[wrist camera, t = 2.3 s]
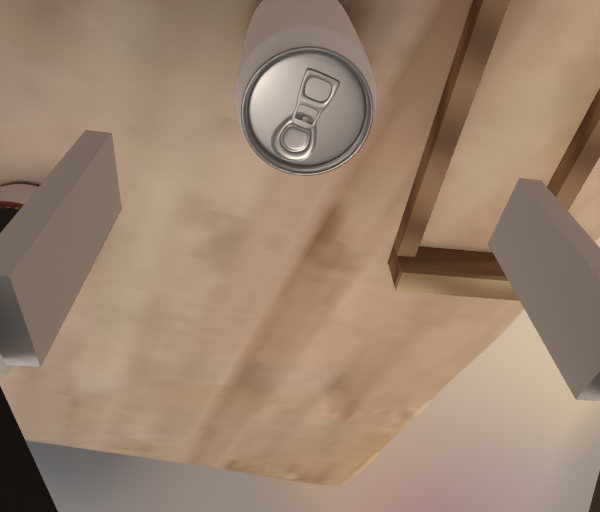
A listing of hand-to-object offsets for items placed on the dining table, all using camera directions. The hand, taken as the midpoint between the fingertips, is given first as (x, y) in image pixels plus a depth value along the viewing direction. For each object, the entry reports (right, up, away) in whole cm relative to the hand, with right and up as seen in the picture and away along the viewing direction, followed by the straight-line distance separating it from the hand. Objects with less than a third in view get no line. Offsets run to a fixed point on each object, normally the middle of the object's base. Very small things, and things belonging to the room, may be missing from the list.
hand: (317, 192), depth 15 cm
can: (-1, +11, +14) cm, 18 cm away
